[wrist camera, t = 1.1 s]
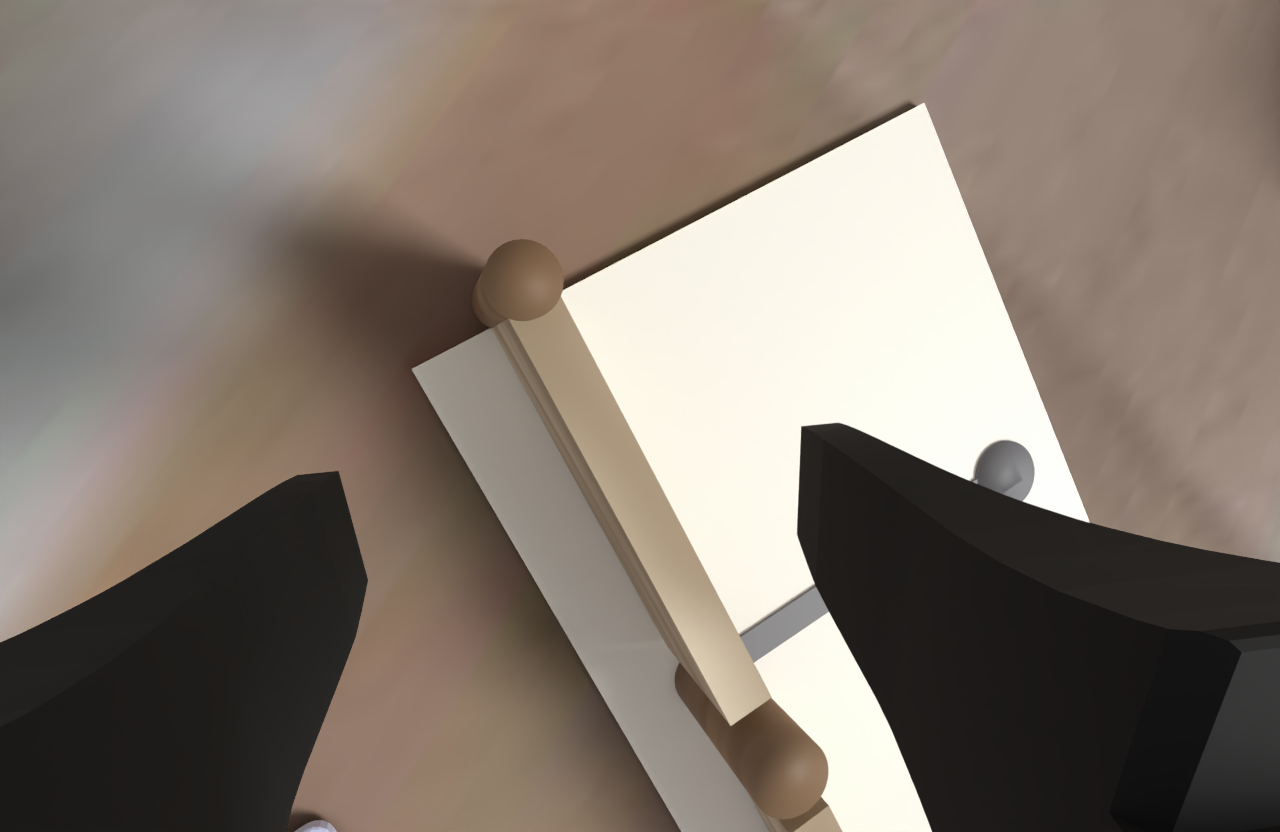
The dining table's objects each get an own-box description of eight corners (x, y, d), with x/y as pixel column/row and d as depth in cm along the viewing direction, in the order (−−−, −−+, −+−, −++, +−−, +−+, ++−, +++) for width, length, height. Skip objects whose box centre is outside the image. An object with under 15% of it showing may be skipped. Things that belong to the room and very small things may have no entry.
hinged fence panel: (661, 648, 22) (732, 741, 16) (460, 288, 19) (468, 261, 14) (705, 620, 22) (788, 702, 17) (513, 261, 20) (540, 225, 14)
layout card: (787, 1013, 25) (793, 1024, 24) (411, 368, 20) (411, 369, 19) (1159, 713, 28) (1168, 718, 28) (918, 106, 23) (926, 101, 23)
